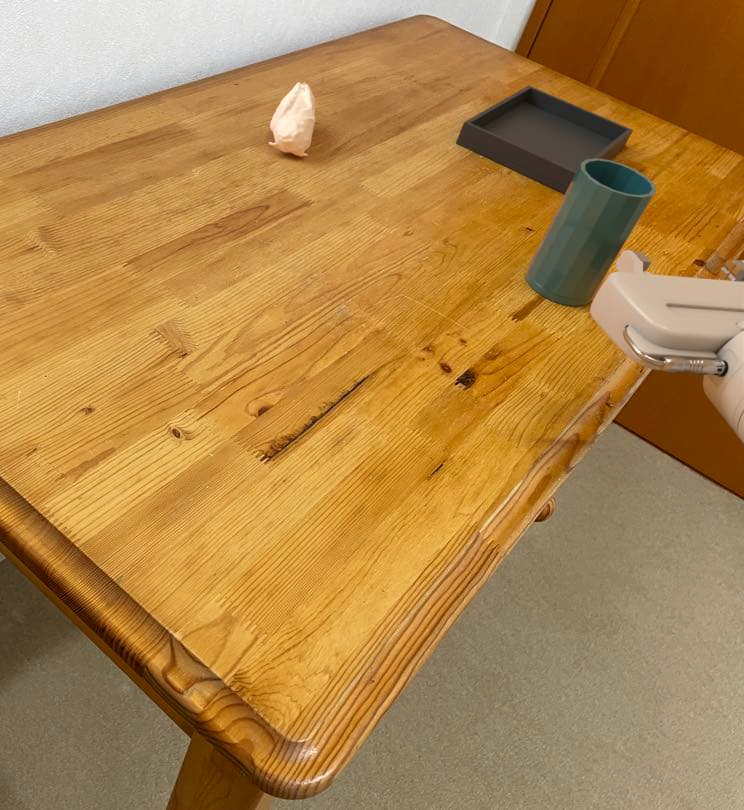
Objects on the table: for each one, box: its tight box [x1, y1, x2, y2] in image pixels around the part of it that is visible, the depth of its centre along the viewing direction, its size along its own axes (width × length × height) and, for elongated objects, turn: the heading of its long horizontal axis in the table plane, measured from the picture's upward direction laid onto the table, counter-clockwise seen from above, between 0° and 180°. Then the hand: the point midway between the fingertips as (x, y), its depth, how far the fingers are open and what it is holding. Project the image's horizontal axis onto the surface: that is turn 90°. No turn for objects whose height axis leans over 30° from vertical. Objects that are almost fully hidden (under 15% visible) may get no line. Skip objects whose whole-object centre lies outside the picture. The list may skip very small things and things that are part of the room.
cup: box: [524, 158, 657, 307], centre depth 81 cm, size 7×7×12 cm
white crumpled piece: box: [268, 81, 316, 157], centre depth 96 cm, size 5×7×10 cm
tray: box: [455, 85, 634, 195], centre depth 109 cm, size 21×15×3 cm
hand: (679, 262), depth 68 cm, fingers open, 8 cm apart
